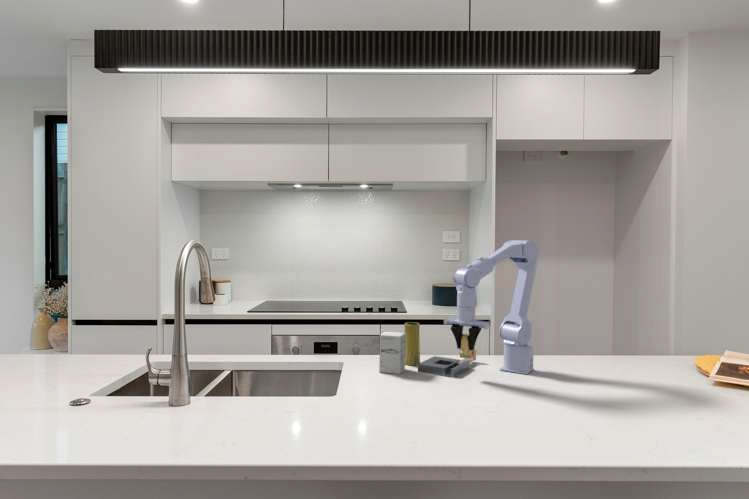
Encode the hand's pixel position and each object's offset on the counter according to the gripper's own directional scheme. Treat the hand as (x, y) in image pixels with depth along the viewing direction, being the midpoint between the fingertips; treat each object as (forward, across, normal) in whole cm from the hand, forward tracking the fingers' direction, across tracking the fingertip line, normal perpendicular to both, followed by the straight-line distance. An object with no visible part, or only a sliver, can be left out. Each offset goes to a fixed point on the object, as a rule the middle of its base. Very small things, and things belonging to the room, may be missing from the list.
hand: (465, 349), depth 162 cm
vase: (+10, -23, +7) cm, 26 cm away
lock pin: (+9, -5, +15) cm, 18 cm away
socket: (+9, -10, +5) cm, 15 cm away
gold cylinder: (+2, 0, 0) cm, 3 cm away
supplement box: (+10, -24, -5) cm, 26 cm away
